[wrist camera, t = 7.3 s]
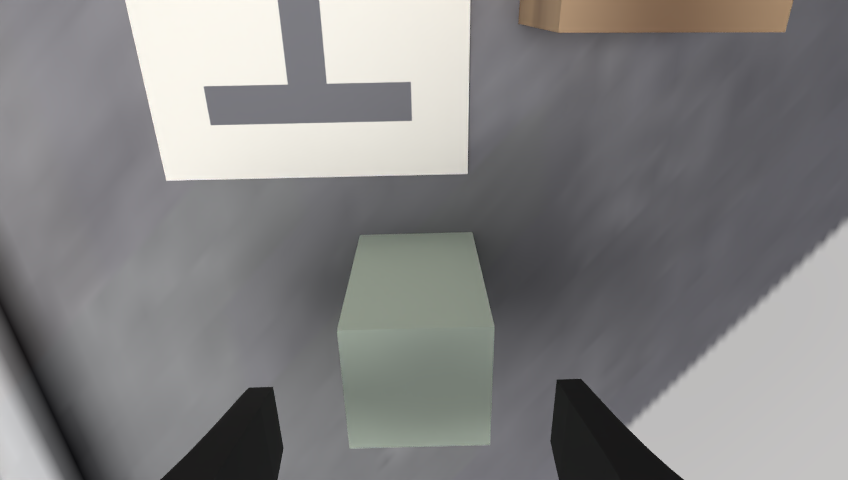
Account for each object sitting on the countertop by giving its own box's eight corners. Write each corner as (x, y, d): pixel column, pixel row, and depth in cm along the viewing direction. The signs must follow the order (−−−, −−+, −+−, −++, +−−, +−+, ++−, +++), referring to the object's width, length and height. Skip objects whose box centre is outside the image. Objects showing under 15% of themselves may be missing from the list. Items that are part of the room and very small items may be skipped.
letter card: (471, -200, 14) (473, -204, 14) (466, 171, 18) (467, 173, 18) (87, -193, 14) (79, -196, 13) (170, 177, 18) (166, 180, 18)
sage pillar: (472, 231, 19) (494, 326, 13) (470, 326, 21) (489, 444, 15) (360, 234, 19) (337, 330, 13) (367, 329, 21) (349, 448, 15)
